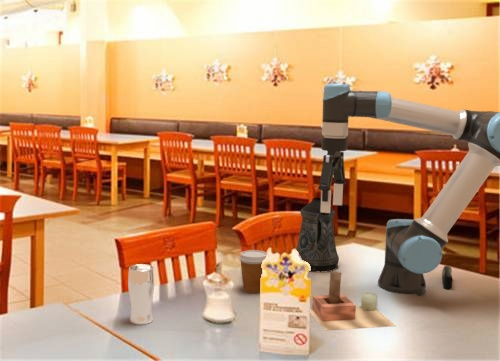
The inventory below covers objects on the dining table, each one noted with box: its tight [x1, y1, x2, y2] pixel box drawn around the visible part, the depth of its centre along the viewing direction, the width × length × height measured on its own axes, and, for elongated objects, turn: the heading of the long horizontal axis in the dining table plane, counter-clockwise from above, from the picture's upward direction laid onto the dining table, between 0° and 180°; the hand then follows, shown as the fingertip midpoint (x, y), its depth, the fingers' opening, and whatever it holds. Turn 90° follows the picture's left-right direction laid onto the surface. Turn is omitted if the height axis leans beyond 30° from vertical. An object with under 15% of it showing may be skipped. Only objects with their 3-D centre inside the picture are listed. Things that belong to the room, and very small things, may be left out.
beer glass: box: [127, 263, 155, 326], centre depth 168 cm, size 7×7×15 cm
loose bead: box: [360, 292, 378, 311], centre depth 180 cm, size 4×4×4 cm
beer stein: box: [295, 197, 340, 273], centre depth 224 cm, size 16×19×25 cm
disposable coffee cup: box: [238, 249, 268, 294], centre depth 197 cm, size 10×10×12 cm
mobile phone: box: [441, 265, 453, 290], centre depth 209 cm, size 5×3×15 cm
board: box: [309, 294, 397, 331], centre depth 172 cm, size 20×16×5 cm
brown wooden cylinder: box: [328, 271, 342, 304], centre depth 174 cm, size 3×3×12 cm
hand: (331, 208), depth 184 cm, fingers open, 13 cm apart
